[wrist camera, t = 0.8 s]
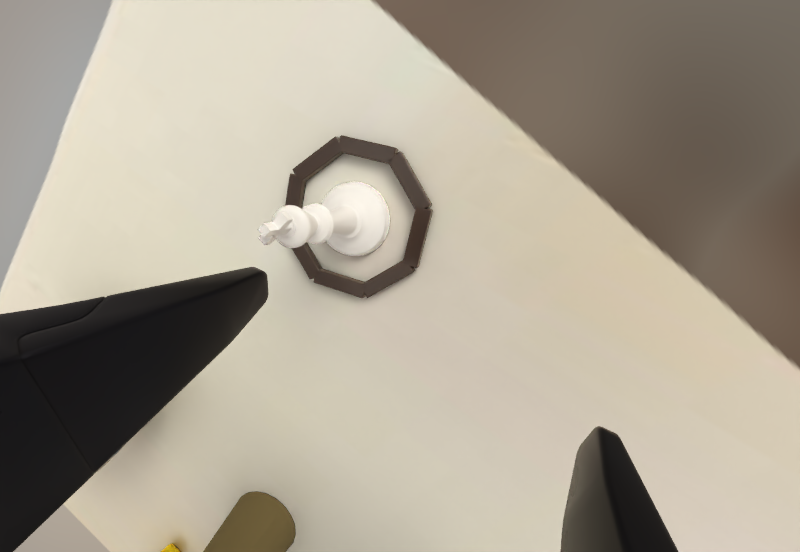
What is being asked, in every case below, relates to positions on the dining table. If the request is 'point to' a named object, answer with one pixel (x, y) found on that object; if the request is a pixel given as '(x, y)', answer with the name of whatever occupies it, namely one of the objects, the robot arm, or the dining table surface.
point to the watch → (171, 549)
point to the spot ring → (410, 187)
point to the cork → (255, 526)
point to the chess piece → (334, 221)
